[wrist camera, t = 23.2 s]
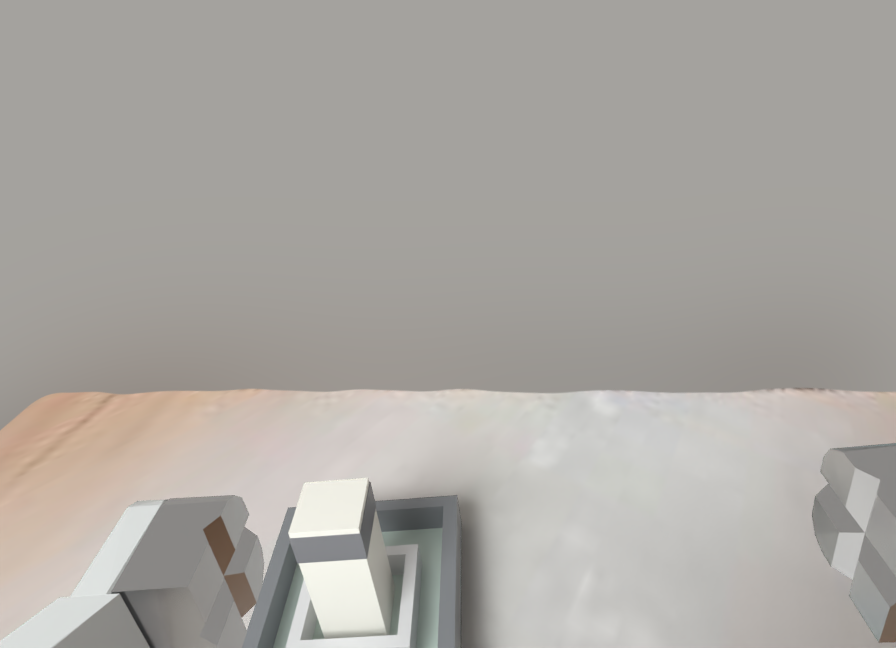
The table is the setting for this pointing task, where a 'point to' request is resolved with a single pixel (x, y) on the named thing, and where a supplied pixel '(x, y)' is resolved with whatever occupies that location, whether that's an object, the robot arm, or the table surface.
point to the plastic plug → (343, 558)
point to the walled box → (414, 574)
